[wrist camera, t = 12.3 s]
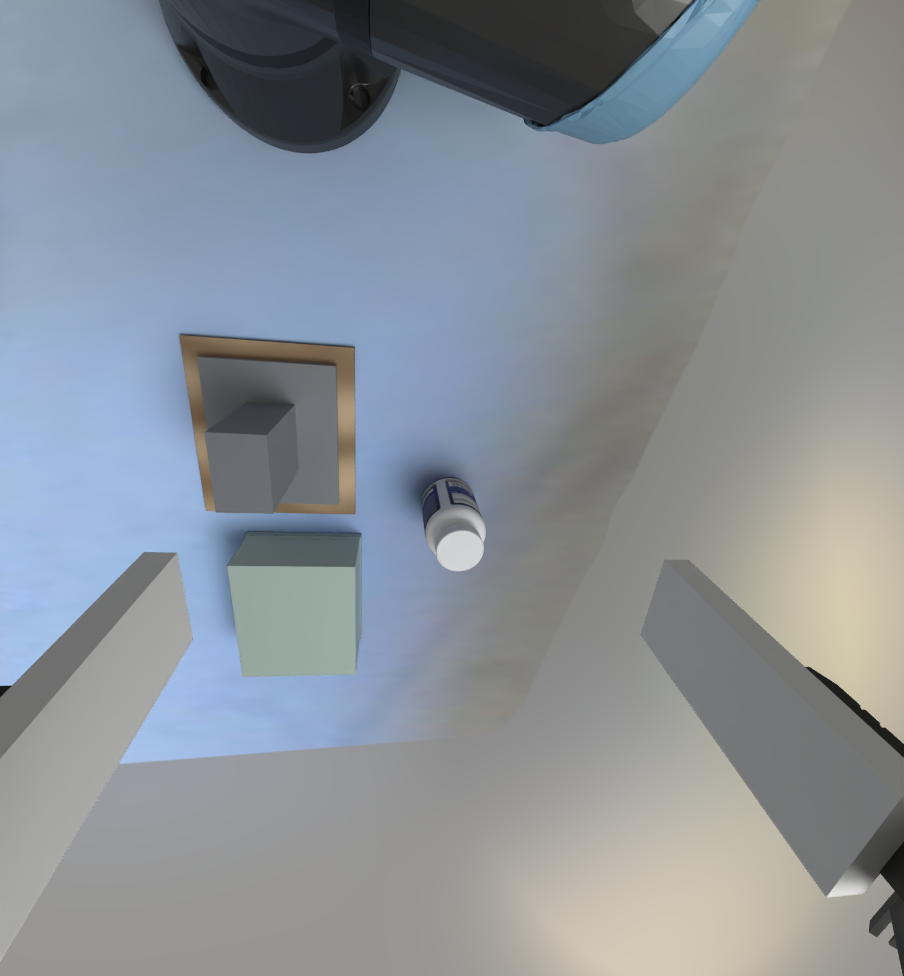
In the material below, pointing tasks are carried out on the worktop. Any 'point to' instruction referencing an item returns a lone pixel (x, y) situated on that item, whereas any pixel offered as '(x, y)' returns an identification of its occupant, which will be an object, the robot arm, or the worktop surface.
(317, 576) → the sage green block
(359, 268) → the worktop surface
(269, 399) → the lid
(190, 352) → the plate
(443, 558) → the pill bottle
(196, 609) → the worktop surface
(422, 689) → the worktop surface
